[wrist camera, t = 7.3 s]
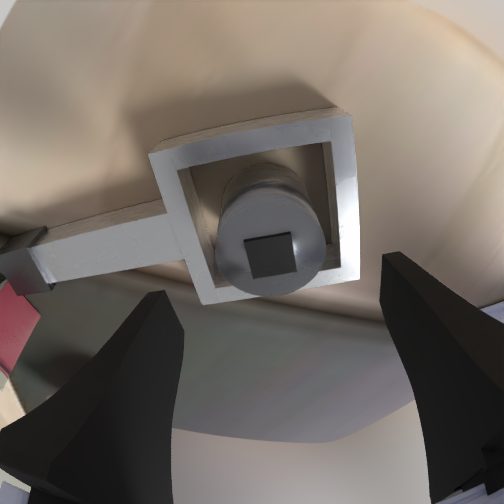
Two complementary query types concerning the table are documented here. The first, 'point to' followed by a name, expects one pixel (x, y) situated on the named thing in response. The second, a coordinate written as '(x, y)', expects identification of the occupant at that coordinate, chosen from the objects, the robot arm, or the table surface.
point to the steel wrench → (194, 212)
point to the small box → (13, 328)
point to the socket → (268, 232)
